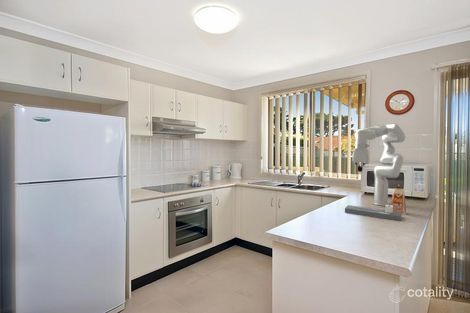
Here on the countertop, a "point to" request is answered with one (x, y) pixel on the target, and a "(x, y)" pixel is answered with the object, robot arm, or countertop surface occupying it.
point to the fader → (389, 208)
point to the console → (373, 212)
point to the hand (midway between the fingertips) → (359, 171)
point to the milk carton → (399, 200)
